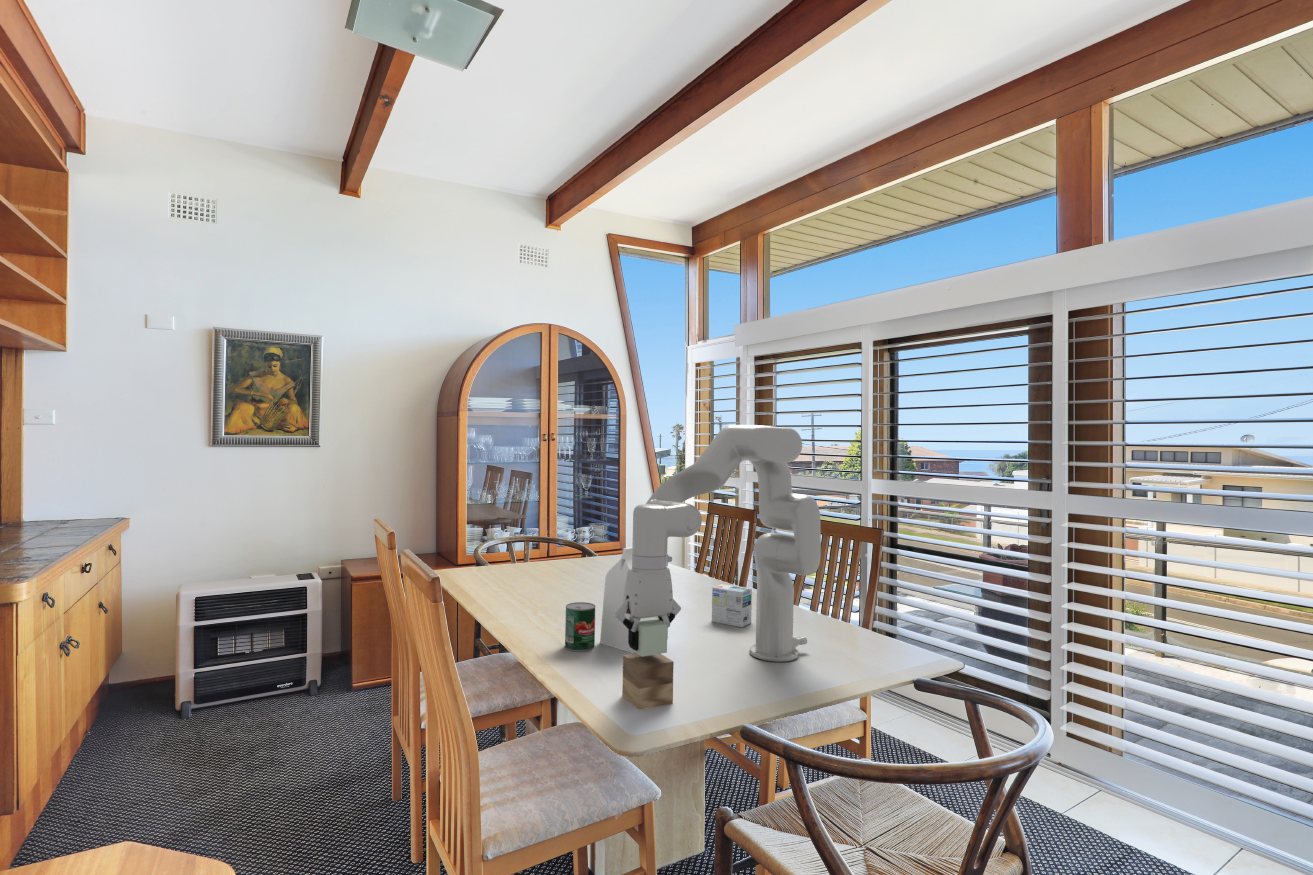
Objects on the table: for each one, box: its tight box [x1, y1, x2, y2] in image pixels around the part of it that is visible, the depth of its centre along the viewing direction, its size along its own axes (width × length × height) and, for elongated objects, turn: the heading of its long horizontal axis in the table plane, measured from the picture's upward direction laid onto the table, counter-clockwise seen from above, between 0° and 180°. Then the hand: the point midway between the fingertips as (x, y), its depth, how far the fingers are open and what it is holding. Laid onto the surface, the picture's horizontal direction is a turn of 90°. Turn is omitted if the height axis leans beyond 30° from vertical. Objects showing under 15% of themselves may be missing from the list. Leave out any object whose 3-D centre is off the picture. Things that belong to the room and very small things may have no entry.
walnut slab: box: [622, 652, 675, 689], centre depth 144 cm, size 8×8×4 cm
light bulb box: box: [711, 583, 753, 628], centre depth 206 cm, size 11×7×11 cm, turn 58°
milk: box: [599, 546, 658, 654], centre depth 183 cm, size 12×12×26 cm
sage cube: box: [629, 617, 668, 656], centre depth 144 cm, size 6×6×6 cm
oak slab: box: [621, 676, 674, 711], centre depth 144 cm, size 8×8×4 cm
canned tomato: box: [564, 601, 597, 653], centre depth 178 cm, size 8×8×11 cm
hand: (647, 645), depth 144 cm, fingers closed on sage cube, 5 cm apart
